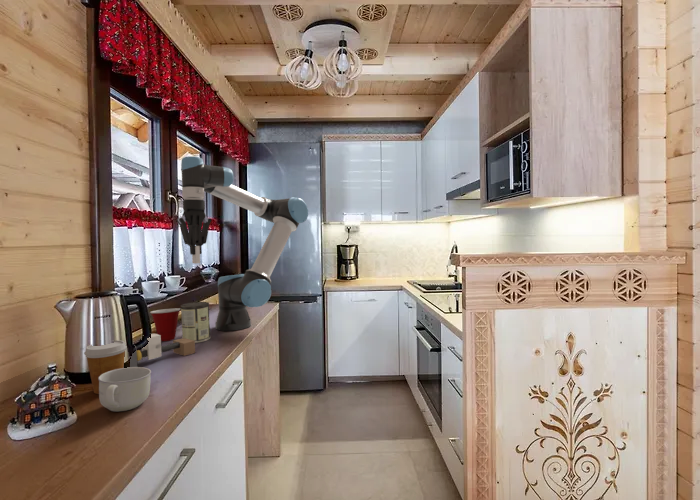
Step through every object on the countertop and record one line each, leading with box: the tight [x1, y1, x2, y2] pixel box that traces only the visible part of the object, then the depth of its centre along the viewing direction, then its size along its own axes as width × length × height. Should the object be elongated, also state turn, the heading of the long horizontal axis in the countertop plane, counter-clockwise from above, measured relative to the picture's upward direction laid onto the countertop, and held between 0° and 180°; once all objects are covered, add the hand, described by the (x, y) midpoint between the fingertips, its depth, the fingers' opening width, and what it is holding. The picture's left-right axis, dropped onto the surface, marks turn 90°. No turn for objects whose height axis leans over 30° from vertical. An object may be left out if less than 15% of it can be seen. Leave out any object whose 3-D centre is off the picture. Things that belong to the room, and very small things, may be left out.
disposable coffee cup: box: [83, 339, 127, 395], centre depth 101 cm, size 10×10×12 cm
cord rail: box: [130, 337, 196, 367], centre depth 125 cm, size 22×7×7 cm, turn 144°
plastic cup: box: [150, 307, 181, 342], centre depth 150 cm, size 11×11×12 cm
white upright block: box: [141, 333, 162, 361], centre depth 123 cm, size 4×4×7 cm
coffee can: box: [180, 301, 211, 344], centre depth 148 cm, size 10×10×14 cm
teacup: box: [98, 366, 152, 412], centre depth 89 cm, size 14×11×8 cm
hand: (196, 263), depth 141 cm, fingers closed
